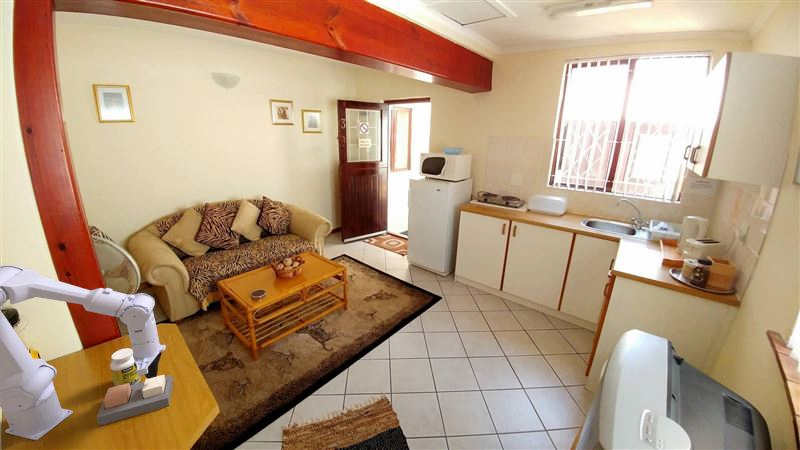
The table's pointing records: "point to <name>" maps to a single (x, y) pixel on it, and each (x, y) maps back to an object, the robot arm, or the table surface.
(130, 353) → the pill bottle
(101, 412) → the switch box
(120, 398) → the key terracotta
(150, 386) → the key cream
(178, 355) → the table surface
